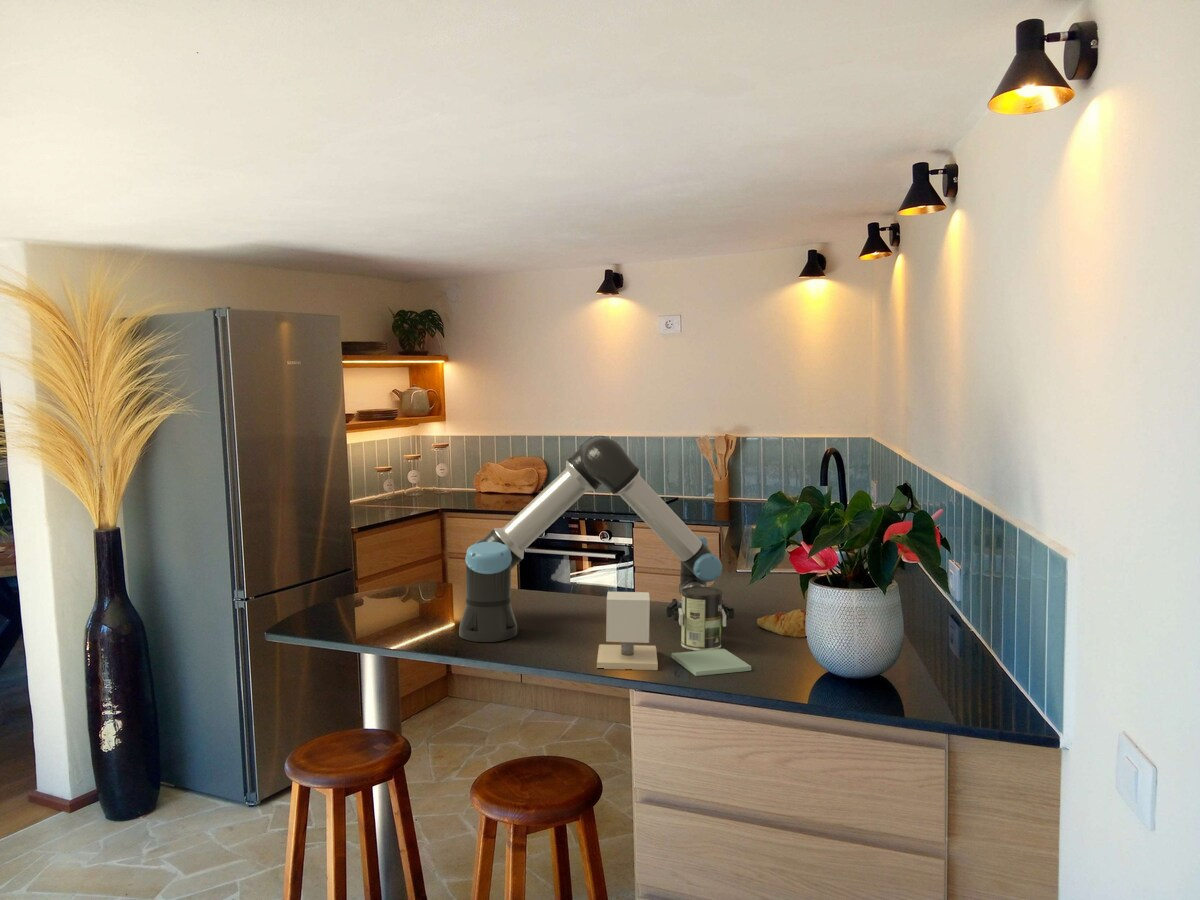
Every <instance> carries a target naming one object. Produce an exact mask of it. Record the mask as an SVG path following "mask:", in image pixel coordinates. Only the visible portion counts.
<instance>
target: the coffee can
mask: <svg viewBox="0 0 1200 900" xmlns="http://www.w3.org/2000/svg"><path fill="white" fill-rule="evenodd" d="M681 593H682V598H681V602H682V613H683V626H681V632H680V633H681V637H680V639H681V641H680V645H681V647H682V648H684V649H686V650H691V651H703V650H714V649H722V648H721V647H722V623H721V614H722V613H721V611H722V600H723V599H722V598H723V591H722V590H721V589H720V588H716V587H711V586H706V587H703V586H695V587H687V588H684V589H682V590H681Z"/></svg>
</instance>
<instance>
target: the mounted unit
mask: <svg viewBox="0 0 1200 900" xmlns="http://www.w3.org/2000/svg"><path fill="white" fill-rule="evenodd" d="M650 600H651V599H650V592H649V591H648V592H647V591H646V592H644V591H642V592H641V591H607V595H606V620H605V621H606V624H605V625H606V627H605V628H606V629H605V633H606V635H605V639H606V640H605V642H606V643H608V642H609V643H620V644H601V643H600V644H599V645H598V652H597V658H596V669H597V668H604V669H603V670H625V669H632V671H633V670H634V671H658V669H659V668H658V667H659V666H658V665H659V664H658V654H657V653H658V652H657V647H656V646H657V645H643V644H644V643H645V644H649V643H650V615H651V614H650V612H651V611H650V606H651V605H650V603H651V602H650ZM635 643H643V644H642V645H641V644H639V645H637V644H635Z"/></svg>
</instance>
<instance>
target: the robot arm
mask: <svg viewBox="0 0 1200 900" xmlns="http://www.w3.org/2000/svg"><path fill="white" fill-rule="evenodd" d="M602 485H603V486H604V487H605V488H606V489H607V490H608V491H609V492H610V493H612V495H614V496H620V497H621V499H622V500H623V501H624V502H625V503H626V505H628V506H629V507H630V508H631V510H632V511H634V512H635V514H636V515H637V516H638V517H640V519H641V520H642V521H643V522H644V523H645V524H646V526H648V527H649V529H650V530H652V531H653V532H654V533H655V534H656V535H657V536H658V538H659V539H660V540H661V541H662V542H663V543H664V545H666V546H667V547H668V548H669V549H670V550H671V551H672V553H674V554H675V556H677V558H679V559H680V575H679V576H680V577H679V578H680V579H679V585H678V586H679V587H678V592H679V595H680V597H681V599H682V593H681V590H682V589H684V588H687V587H695V586H703V587H707V584H708V583H711V582H714V581H716V580H718V578H720V576H721V574H722V571H723V565H722V562H721V559H719V557H718V556H717V555H716V554H714V553H713V552H712V551H711V550H710V549H709V546H708V539H707V537H705V536H703V535H702V536H701V535H696V534H695V533H694V532H693V531H692V529H690V528H689V526H687V524H686V523H685V522H684V521H683V520H682V519H681V518H680V517H679V516H678V515H677V514H676V512H674V511H673V509H672V508H671V507H670V506H669V505H668V504H667V503H666V502H665V501H664V500H663V498H662V497H660V496H659V494H658V493H657V492H656V491H655V490H654V489H653V488H652V486H650V485H649V483H647V482H646V481H645V479H644V478H643V477H642V476H641V470H640V468H638V466H637V465H636V464H635V463H634V462H633V460H632V459H631V458H630V457H629V455H628V454H627V452H626V451H625V449H624V448H623V447H622V445H621V444H620V443H619V442H618V441H615V440H614V439H612V438H610V437H608V436H604V435H594V436H593V435H592V436H591V437H588V438H587V439H585V440H584V441H583V442H582V443H581V444H580V446H579V447H578V450H576V451H575V452H574V453H573V454H572V455H570V456H569V458H567V460H566V461H565V469H564V470H563V471H562V472H561V473H560V474H559V475H557V476H556V477H555V478H554V479H553V480H552V481H551V482H550V483H549V484H547V486H545V488H543V490H542V491H540V492H539V493H538V494H537V495H536V496H535V497H534V498H533V499H532V500H531V501H530V502H529V503H528V504H527V505H526V506H525V507H523V509H522V510H521V511H519V512H518V513H517V514H516V515H515V516H514V517H513V518H512V519H511V520H510V521H509V522H508V523H506V524H505V525H504V526H503V527H494V528H493V529H492V530H491V531H490V532H489V533H488V534H487V535H485V536H484V538H482V539H480V540H478V541H476V542H475V543H474V544H471V545H470V546H469V547H468V548H467V550H466V554H465V561H464V562H465V608H464V611H463V614H462V617H461V620H460V623H459V626H458V627H459V628H458V635H459V637H460V638H461V639H463V640H466V641H469V642H476V643H495V642H502V641H507V640H511V639H513V638H515V637H516V636H517V635H518V624H517V620H516V617H515V614H514V611H513V607H512V603H511V600H512V597H511V596H512V594H511V593H512V588H511V587H512V582H511V581H512V574H511V573H512V570H513V569H514V568H515V567H516V566H517V565H518V564H519V563H520V562H521V561H522V560H523V559H524V555H525V550H526V549H527V548H528V547H529V546H530V545H531V544H532V543H533V542H535V541H536V540H537V539H538V538H539V537H540V536H541V535H542V534H543V533H544V532H545V531H546V530H547V529H549V527H551V525H552V524H554V523H555V522H556V521H557V520H558V519H559V518H560V517H561V516H562V515H563V514H564V513H565V512H566V511H568V510H569V508H570V507H572V506H573V505H574V504H575V503H576V502H577V501H578V500H579V499H580V498H581V497H582V496H583V495H584V494H585V493H587V492H595V491H597V490H598V489H599V488H600V487H601V486H602ZM721 613H722V614H721V626H722V627H727V621H729V620H730V619H735V608H734V607H733V606H731V605H729V604H728V603H726V602H724V599H722V611H721ZM672 616H673V621H676V622H677V621H678V623H679V626H681V627H682V626H683V613H682V601H680V600H679V599H677V598H672V599H671V602H670V603H669V604H668V605H667V606H666V617H667V618H671V617H672Z"/></svg>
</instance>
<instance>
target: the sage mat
mask: <svg viewBox="0 0 1200 900" xmlns="http://www.w3.org/2000/svg"><path fill="white" fill-rule="evenodd" d="M671 658H672V659H673V660H674V661H676V662H677V663H678V664H680V666H682V667H683V668H685V669H686V670H687V671H688V672H689V673H691V674H692V675H694V677H698V676H699V677H700V676H701V677H702V676H710V675H711V676H712V675H720V674H728V673H729V674H730V673H740V672H749V671H752V665H750V664H748V662H745V661H744V660H743V659H741V658H739V657H738V656H736V655H734V653H731V652H730V651H729V650H727V649H725V648H719V649H714V650H703V651H694V650H691V651H683V652H672V653H671Z"/></svg>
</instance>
